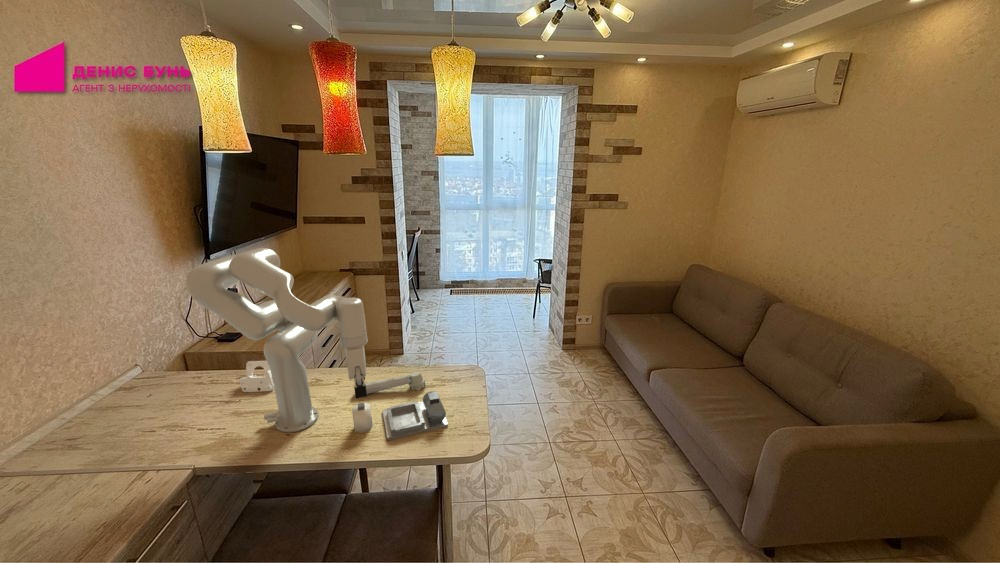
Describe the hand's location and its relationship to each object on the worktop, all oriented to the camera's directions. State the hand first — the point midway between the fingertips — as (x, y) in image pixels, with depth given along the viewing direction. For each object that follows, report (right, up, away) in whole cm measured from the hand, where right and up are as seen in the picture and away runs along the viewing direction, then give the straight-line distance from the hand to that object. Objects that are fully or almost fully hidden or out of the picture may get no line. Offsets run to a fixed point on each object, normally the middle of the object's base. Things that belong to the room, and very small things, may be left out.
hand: (360, 388), depth 121 cm
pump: (-1, -13, +4) cm, 14 cm away
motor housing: (+15, -12, +8) cm, 21 cm away
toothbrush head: (+3, -8, +24) cm, 26 cm away
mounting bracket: (-47, -6, +26) cm, 54 cm away
